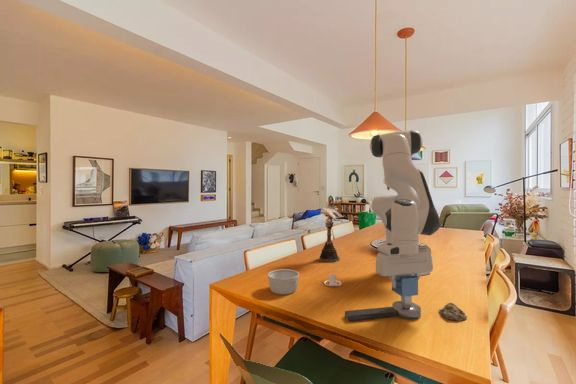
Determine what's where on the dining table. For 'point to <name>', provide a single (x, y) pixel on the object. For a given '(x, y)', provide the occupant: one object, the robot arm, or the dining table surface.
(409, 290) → the slate grey cube
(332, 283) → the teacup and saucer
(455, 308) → the mineral rock
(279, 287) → the ramekin
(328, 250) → the bird statue
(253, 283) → the dining table surface
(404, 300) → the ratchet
